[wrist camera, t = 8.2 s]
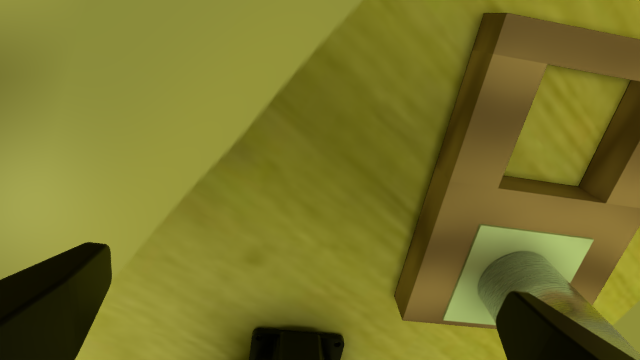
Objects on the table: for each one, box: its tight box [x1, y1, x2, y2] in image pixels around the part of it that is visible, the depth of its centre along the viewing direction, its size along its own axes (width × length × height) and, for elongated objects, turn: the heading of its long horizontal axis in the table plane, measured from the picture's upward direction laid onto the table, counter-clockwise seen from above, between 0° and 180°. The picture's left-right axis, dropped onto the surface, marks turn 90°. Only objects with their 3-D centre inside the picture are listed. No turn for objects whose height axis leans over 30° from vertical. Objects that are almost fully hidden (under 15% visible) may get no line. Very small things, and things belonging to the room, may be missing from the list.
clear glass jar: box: [478, 251, 640, 360], centre depth 18 cm, size 4×4×9 cm
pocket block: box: [394, 13, 640, 329], centre depth 21 cm, size 18×12×2 cm, turn 170°
